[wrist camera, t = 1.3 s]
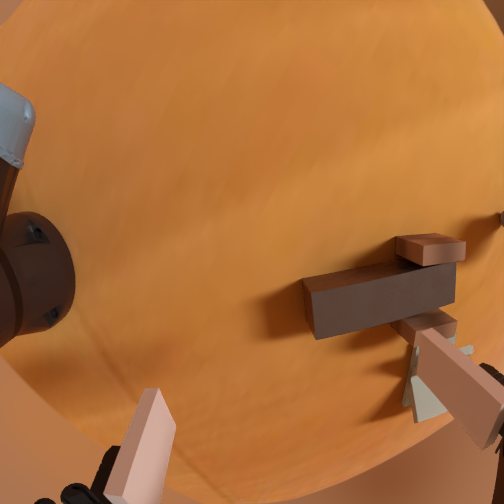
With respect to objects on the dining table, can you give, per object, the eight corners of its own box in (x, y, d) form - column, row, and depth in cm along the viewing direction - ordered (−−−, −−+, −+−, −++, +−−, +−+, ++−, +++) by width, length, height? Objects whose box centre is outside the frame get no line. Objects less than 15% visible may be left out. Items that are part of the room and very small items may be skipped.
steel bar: (306, 319, 33) (315, 340, 28) (300, 277, 32) (310, 293, 27) (432, 289, 33) (454, 302, 28) (432, 251, 32) (456, 260, 27)
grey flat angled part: (400, 403, 36) (416, 426, 31) (413, 339, 34) (435, 360, 28) (437, 391, 36) (455, 411, 31) (452, 329, 34) (475, 346, 29)
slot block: (390, 325, 33) (413, 347, 27) (395, 236, 31) (423, 245, 25) (429, 317, 33) (454, 336, 28) (435, 233, 31) (466, 241, 25)
